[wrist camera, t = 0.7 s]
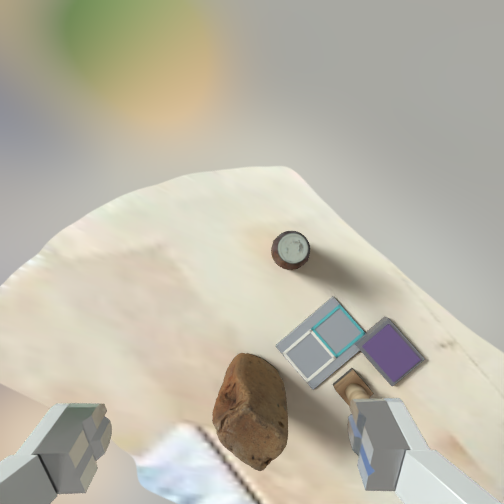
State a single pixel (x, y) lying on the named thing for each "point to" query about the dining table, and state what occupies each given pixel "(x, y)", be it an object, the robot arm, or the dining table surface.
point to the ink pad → (389, 351)
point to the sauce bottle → (290, 250)
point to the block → (252, 411)
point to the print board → (322, 342)
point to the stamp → (352, 387)
